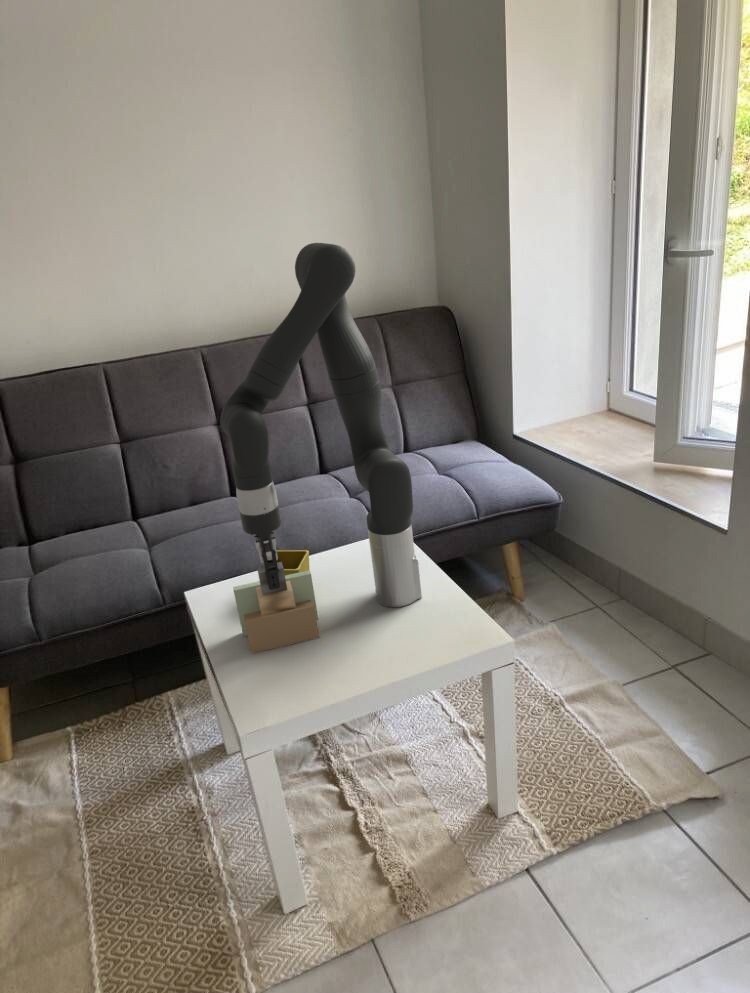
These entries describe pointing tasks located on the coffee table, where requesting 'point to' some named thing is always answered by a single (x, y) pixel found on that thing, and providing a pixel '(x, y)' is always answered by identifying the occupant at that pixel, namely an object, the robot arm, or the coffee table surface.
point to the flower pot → (294, 561)
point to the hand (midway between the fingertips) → (273, 582)
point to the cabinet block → (274, 593)
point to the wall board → (278, 615)
